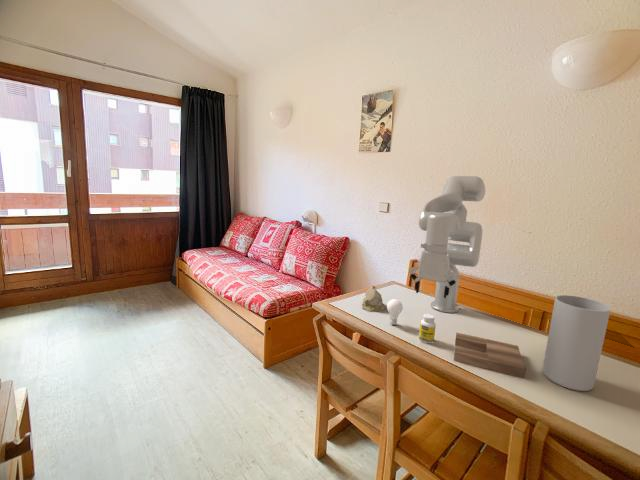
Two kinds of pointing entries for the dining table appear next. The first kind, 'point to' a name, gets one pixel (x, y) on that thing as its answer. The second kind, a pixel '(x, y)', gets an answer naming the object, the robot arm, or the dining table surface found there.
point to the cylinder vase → (575, 341)
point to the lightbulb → (394, 310)
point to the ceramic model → (373, 300)
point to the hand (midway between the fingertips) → (430, 294)
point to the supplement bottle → (427, 329)
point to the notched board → (489, 354)
